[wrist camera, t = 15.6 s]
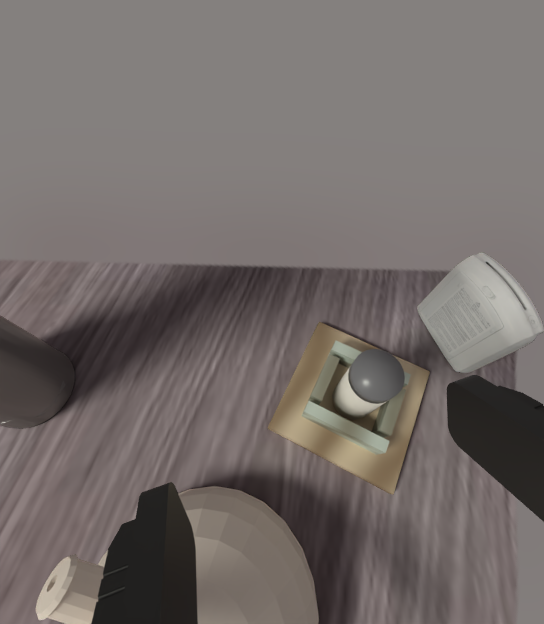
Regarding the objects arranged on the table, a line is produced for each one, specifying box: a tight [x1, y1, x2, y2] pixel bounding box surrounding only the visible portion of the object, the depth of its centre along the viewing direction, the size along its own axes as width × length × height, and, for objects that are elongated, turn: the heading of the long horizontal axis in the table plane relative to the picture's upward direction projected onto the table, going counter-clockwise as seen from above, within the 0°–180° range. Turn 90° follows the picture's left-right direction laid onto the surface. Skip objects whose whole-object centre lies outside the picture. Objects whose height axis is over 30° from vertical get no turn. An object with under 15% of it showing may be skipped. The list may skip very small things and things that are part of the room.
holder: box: [268, 322, 430, 494], centre depth 36 cm, size 14×14×4 cm
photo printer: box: [417, 252, 544, 373], centre depth 36 cm, size 10×4×12 cm, turn 21°
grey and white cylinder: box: [332, 349, 405, 420], centre depth 33 cm, size 4×4×10 cm
